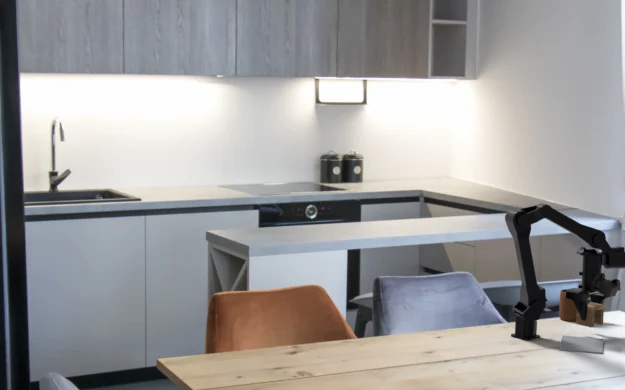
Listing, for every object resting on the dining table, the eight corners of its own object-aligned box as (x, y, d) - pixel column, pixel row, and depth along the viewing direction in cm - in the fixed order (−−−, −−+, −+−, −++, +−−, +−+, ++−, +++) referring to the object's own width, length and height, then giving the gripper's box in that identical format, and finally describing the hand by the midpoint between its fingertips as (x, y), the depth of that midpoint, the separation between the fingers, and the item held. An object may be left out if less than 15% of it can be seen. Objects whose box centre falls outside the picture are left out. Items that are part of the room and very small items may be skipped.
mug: (594, 317, 309) (595, 289, 308) (598, 323, 301) (599, 294, 300) (557, 316, 310) (558, 288, 309) (560, 321, 303) (561, 293, 302)
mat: (602, 353, 264) (602, 352, 264) (559, 349, 268) (559, 348, 268) (603, 340, 280) (603, 338, 280) (562, 336, 283) (562, 335, 283)
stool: (592, 327, 281) (593, 307, 281) (575, 323, 286) (576, 303, 285) (603, 324, 285) (604, 304, 285) (587, 320, 290) (587, 301, 289)
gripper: (596, 276, 272) (594, 328, 273) (632, 269, 283) (630, 319, 285) (564, 270, 280) (562, 321, 282) (601, 264, 292) (599, 313, 294)
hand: (589, 319), depth 286 cm, fingers closed on stool, 6 cm apart
